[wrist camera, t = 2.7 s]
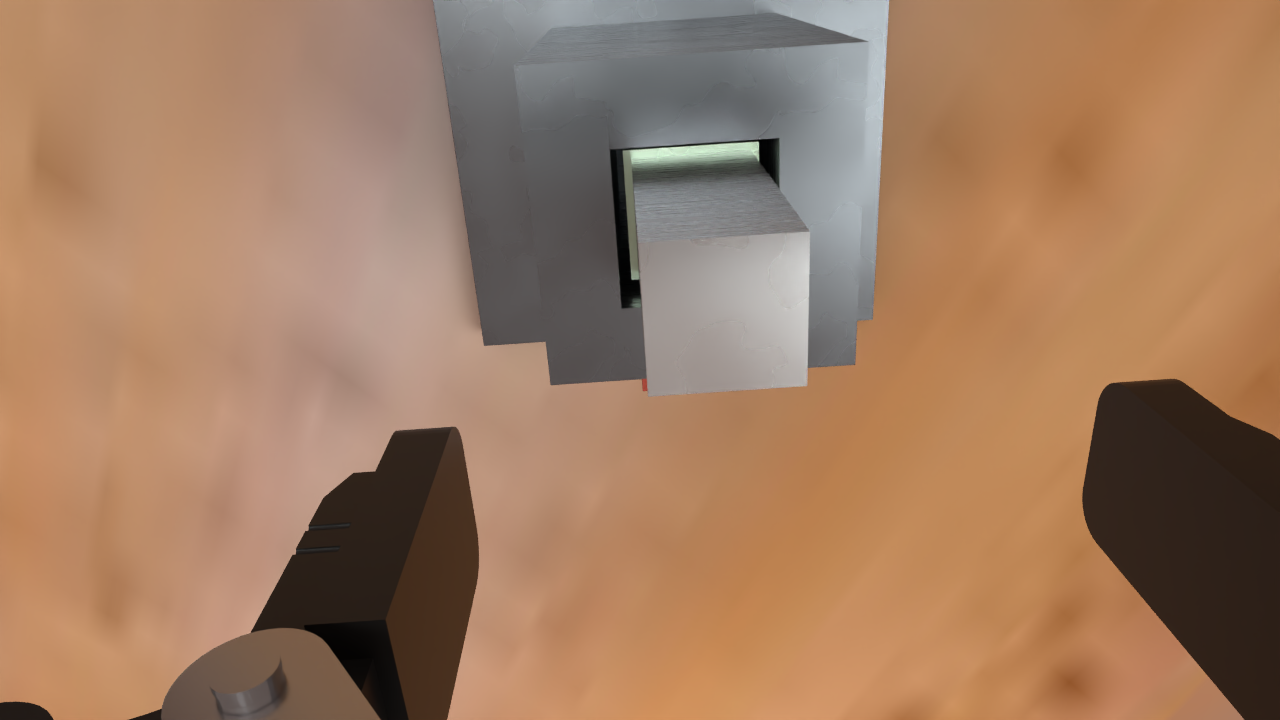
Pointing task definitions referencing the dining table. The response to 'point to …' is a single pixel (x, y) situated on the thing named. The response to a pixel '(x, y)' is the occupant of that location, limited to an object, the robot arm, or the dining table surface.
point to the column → (716, 269)
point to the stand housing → (645, 117)
